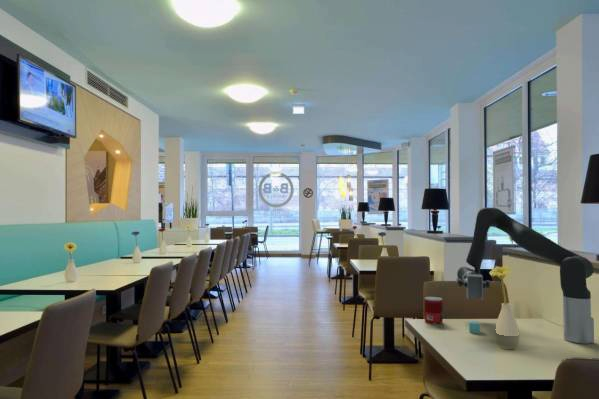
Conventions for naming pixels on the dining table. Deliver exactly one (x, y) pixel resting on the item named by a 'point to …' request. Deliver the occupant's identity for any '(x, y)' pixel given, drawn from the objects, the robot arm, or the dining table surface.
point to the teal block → (474, 327)
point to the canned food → (433, 309)
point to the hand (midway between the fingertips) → (475, 285)
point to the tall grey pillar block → (474, 286)
